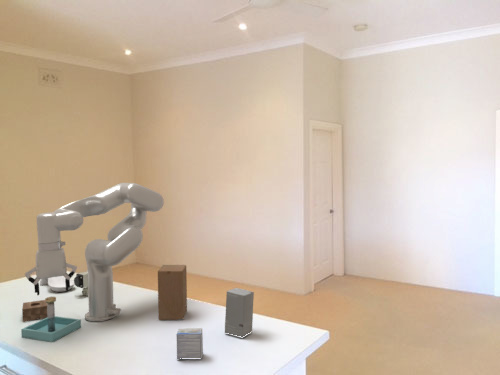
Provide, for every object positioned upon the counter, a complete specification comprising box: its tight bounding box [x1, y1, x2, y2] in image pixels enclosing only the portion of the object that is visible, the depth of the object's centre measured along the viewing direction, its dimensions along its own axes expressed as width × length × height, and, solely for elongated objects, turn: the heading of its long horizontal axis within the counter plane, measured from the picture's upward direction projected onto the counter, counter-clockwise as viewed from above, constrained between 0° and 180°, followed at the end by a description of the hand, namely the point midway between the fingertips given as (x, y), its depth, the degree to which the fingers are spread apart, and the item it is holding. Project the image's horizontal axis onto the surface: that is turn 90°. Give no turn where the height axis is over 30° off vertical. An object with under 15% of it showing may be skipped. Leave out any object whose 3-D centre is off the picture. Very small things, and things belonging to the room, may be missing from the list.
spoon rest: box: [39, 276, 76, 293], centre depth 207 cm, size 24×12×7 cm, turn 54°
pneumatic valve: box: [73, 269, 88, 297], centre depth 196 cm, size 6×12×12 cm, turn 144°
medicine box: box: [175, 327, 204, 360], centre depth 131 cm, size 8×4×9 cm, turn 92°
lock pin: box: [44, 296, 57, 332], centre depth 151 cm, size 4×4×12 cm
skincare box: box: [224, 287, 255, 337], centre depth 148 cm, size 8×7×16 cm
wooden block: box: [157, 264, 188, 321], centre depth 167 cm, size 10×10×20 cm
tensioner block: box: [21, 299, 48, 323], centre depth 168 cm, size 9×9×5 cm
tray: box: [20, 315, 82, 343], centre depth 151 cm, size 14×14×3 cm
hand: (52, 291), depth 151 cm, fingers open, 9 cm apart
